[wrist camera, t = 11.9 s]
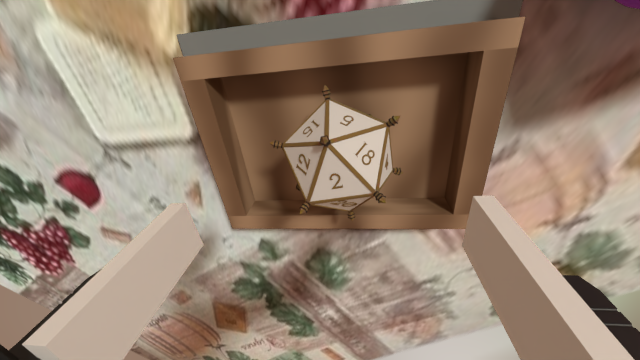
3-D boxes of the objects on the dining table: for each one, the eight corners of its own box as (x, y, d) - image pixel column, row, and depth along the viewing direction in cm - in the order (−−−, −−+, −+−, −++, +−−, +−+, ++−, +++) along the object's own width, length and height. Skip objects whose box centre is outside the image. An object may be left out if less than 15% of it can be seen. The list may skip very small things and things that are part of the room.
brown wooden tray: (245, 207, 28) (232, 228, 25) (199, 54, 20) (172, 58, 17) (459, 204, 24) (473, 228, 21) (495, 19, 17) (525, 16, 14)
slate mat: (239, 218, 29) (237, 220, 28) (179, 34, 20) (176, 34, 20) (470, 217, 25) (471, 219, 24) (522, -12, 16) (525, -12, 16)
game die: (365, 122, 24) (452, 184, 18) (302, 185, 25) (363, 266, 18) (315, 45, 18) (424, 97, 11) (231, 134, 18) (286, 232, 12)
